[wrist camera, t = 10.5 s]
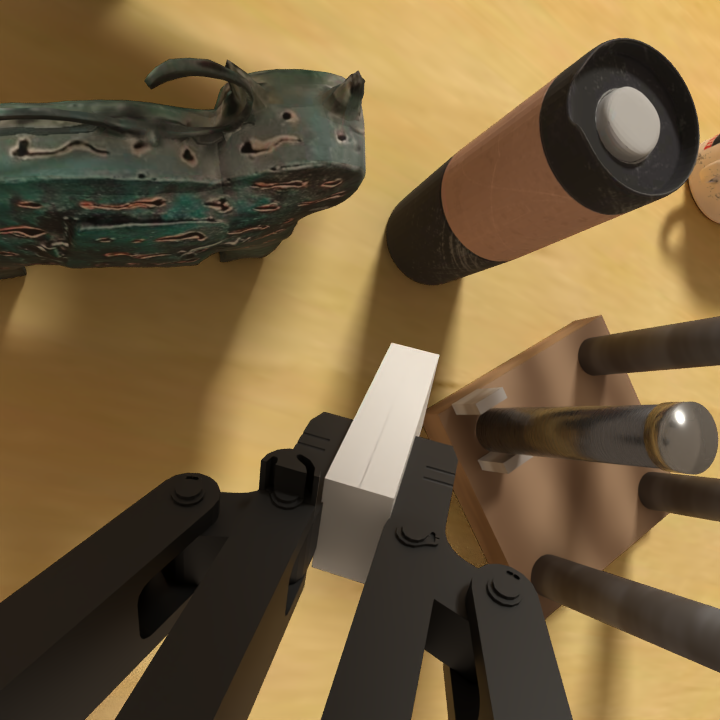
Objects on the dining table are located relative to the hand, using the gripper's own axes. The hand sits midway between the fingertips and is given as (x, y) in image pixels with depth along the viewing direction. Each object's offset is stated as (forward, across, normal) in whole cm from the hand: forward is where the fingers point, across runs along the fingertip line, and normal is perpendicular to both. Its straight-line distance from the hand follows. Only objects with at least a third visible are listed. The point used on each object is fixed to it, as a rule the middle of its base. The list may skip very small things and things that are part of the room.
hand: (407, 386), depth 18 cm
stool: (+25, +10, -19) cm, 33 cm away
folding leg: (+19, +5, -13) cm, 23 cm away
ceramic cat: (+16, -20, -5) cm, 26 cm away
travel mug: (+28, -3, -4) cm, 29 cm away
